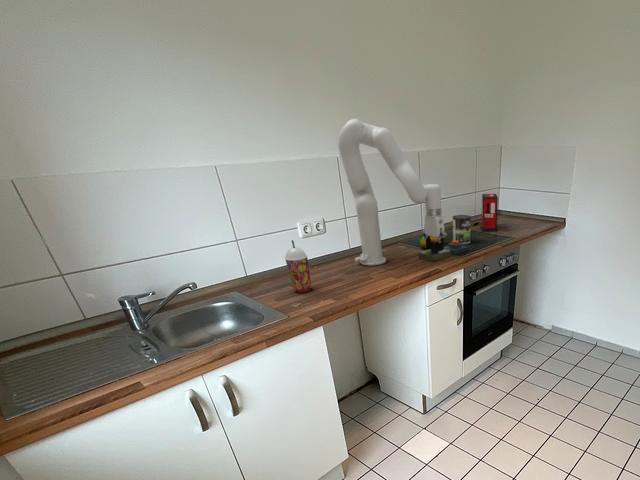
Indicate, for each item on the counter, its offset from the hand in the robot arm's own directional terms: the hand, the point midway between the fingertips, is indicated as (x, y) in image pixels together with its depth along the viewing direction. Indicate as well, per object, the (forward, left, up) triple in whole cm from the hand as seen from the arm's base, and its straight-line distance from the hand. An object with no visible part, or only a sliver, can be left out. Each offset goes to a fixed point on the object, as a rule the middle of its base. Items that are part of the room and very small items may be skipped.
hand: (434, 248), depth 193 cm
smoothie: (-69, +6, -4) cm, 69 cm away
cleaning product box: (+70, +22, -4) cm, 74 cm away
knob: (0, 0, -1) cm, 1 cm away
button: (+15, 0, -1) cm, 15 cm away
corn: (+15, +17, -4) cm, 23 cm away
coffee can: (+32, +11, -4) cm, 34 cm away
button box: (+15, 0, -4) cm, 16 cm away
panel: (0, 0, -4) cm, 4 cm away
